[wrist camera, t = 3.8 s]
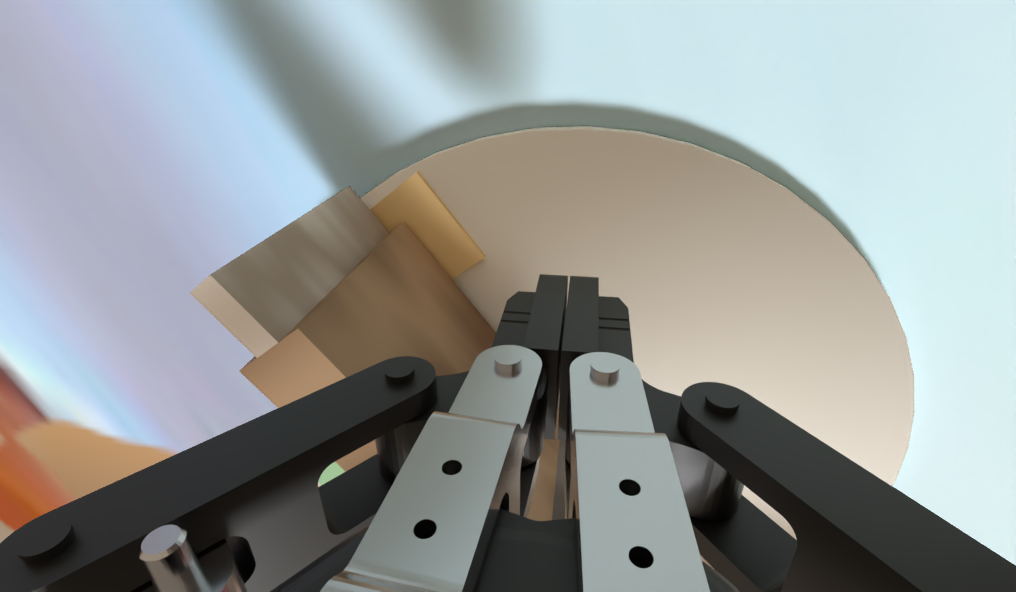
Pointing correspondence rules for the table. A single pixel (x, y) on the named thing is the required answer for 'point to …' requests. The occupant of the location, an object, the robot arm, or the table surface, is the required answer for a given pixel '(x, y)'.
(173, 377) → the table surface
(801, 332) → the disc
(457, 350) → the peg lever
